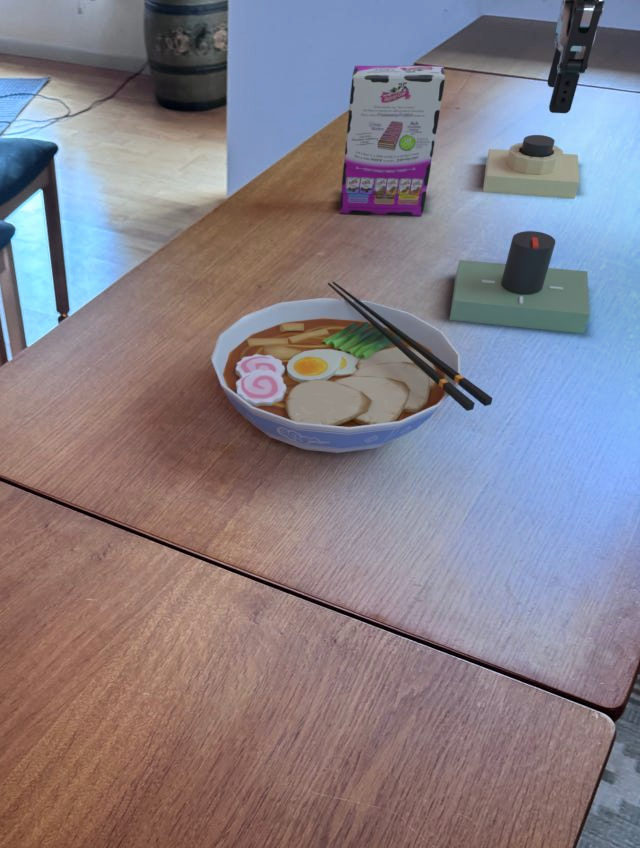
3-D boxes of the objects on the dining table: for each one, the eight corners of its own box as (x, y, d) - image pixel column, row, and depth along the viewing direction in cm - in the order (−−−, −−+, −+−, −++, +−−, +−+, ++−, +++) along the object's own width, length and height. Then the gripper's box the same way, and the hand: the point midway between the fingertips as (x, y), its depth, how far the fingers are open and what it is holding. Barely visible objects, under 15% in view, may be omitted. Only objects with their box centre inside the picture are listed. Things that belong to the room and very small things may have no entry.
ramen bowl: (171, 387, 94) (169, 313, 88) (365, 340, 99) (376, 267, 93) (278, 532, 78) (284, 453, 72) (503, 467, 83) (526, 389, 77)
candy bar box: (422, 202, 123) (446, 64, 111) (422, 217, 120) (447, 77, 108) (339, 199, 125) (353, 62, 113) (337, 214, 121) (352, 75, 109)
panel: (579, 296, 104) (587, 269, 102) (581, 340, 98) (590, 312, 95) (454, 284, 107) (459, 258, 105) (447, 326, 101) (453, 298, 98)
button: (550, 149, 125) (554, 135, 124) (551, 160, 122) (554, 146, 121) (520, 147, 126) (524, 133, 124) (520, 158, 123) (523, 144, 122)
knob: (500, 274, 102) (512, 227, 98) (541, 277, 101) (554, 229, 97) (501, 293, 99) (514, 244, 95) (543, 295, 98) (558, 247, 94)
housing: (573, 171, 129) (581, 140, 126) (574, 199, 122) (583, 167, 119) (485, 164, 131) (492, 135, 128) (482, 192, 125) (489, 161, 122)
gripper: (563, -97, 95) (522, 77, 107) (568, -69, 86) (522, 119, 98) (639, -97, 94) (589, 80, 106) (652, -67, 85) (596, 123, 97)
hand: (557, 99), depth 102 cm, fingers open, 8 cm apart
